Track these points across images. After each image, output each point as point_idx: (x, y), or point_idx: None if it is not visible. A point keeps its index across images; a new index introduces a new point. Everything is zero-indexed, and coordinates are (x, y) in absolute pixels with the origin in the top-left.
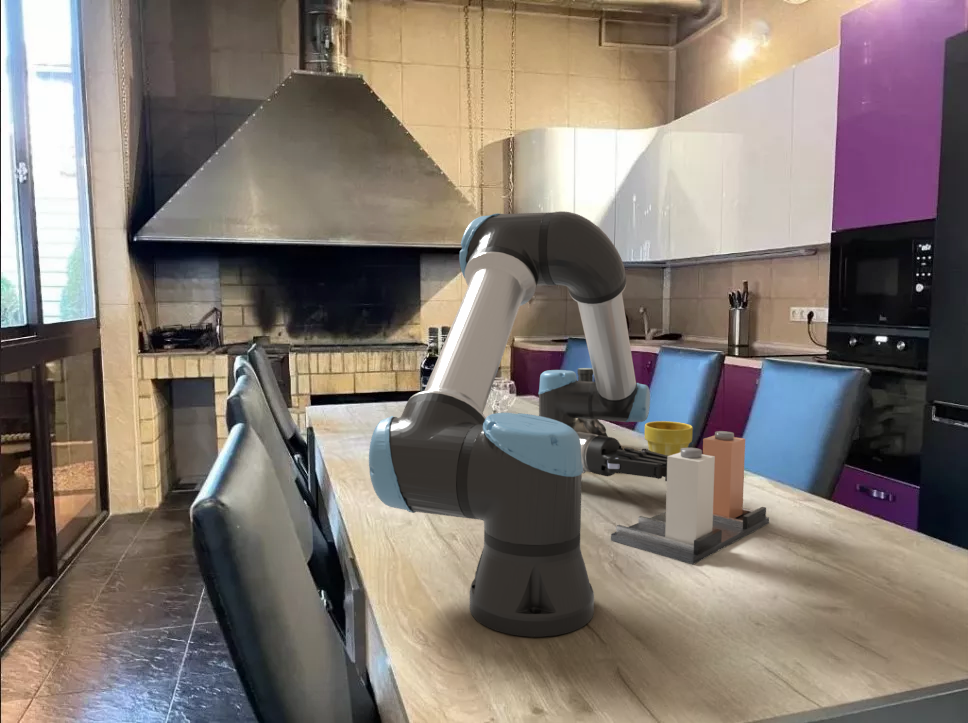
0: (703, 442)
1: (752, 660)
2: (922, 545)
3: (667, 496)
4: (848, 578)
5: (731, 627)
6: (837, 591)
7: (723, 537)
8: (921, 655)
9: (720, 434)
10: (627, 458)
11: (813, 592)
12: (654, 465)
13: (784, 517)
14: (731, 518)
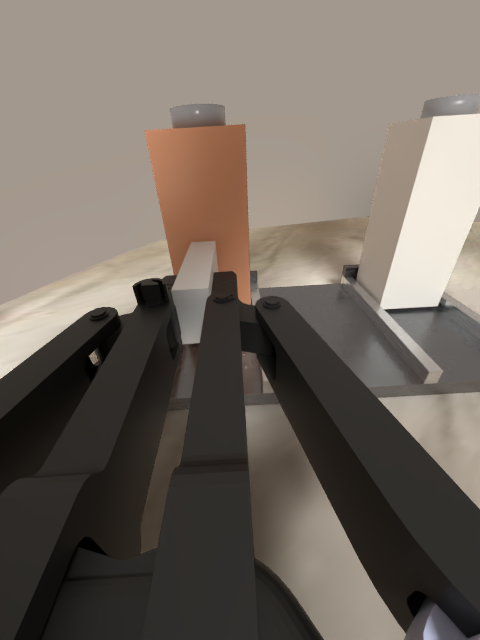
0: (244, 139)
1: (475, 233)
2: (161, 245)
3: (471, 221)
4: (289, 244)
5: (464, 244)
6: (323, 242)
7: (319, 288)
8: (359, 221)
9: (224, 108)
10: (276, 590)
11: (343, 244)
12: (294, 313)
13: (131, 302)
14: (254, 292)
